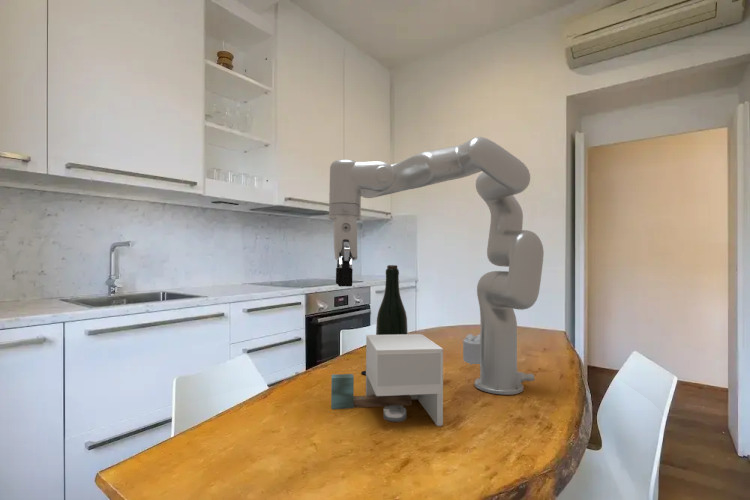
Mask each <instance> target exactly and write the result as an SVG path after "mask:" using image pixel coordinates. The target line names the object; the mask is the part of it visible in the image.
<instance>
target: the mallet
mask: <svg viewBox="0 0 750 500" xmlns="http://www.w3.org/2000/svg"><path fill="white" fill-rule="evenodd" d="M354 379H355V377H354V375H353V373H344V374H343V373H341V374H336V373H335V374H331V385H330V387H331V389H330V390H331V395H330V396H331V397H330V398H331V399H330V405H331V406H330V407H331V410H343V409H355V408H370V407H371V408H372V407H373V408H375V407H379V408H380V407H386V406H388V405H401V406H412V400H411V396H410V395H393V396H376V395H373V396H366V395H356V396H355V395H354V391H355V388H354V386H355V385H354V384H355V380H354Z"/></svg>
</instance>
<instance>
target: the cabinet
mask: <svg viewBox="0 0 750 500" xmlns="http://www.w3.org/2000/svg"><path fill="white" fill-rule="evenodd" d="M365 337H366V339H365V340H366V341H365V342H366V344H365V346H366V348H365V354H366V355H365V357H366V358H365V371H366V374H365V396H373V395H376V396H393V395H410V396H411V401H415V400H417V401H418V402H419V403H420V404H421V406H422V408H424V410H425V411H426V413H427V414H428V415H429V416H430V418H431V419H432V421H433V422H434V424H435V425H436V426H437V427H441V426H444V348H443V347H441V346H440V345H438V344H436V343H435V342H434V341H432V340H431V339H429V338H428V337H427V336H425V335H424V334H422V333H414V334H413V333H411V334H410V333H408V334H397V335H376V334H366V336H365Z"/></svg>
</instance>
